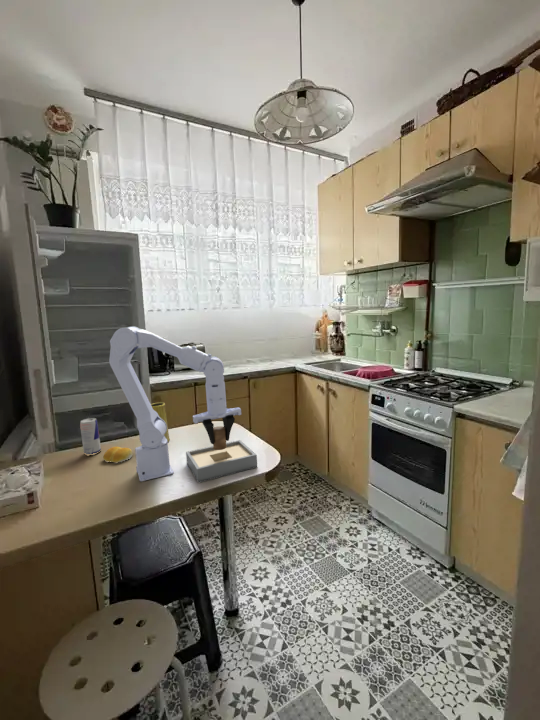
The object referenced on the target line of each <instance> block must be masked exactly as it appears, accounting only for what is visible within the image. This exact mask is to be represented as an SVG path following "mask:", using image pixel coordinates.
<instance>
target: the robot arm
mask: <svg viewBox="0 0 540 720" xmlns="http://www.w3.org/2000/svg"><path fill="white" fill-rule="evenodd" d="M109 345H110V351H109V362H108V363H109V366H110V368H111V369H112V372H113V374H114V376H115V377H116V379H117V382H118V384H119V385H120V387H121V390H122V392H123V393H124V396H125V398H126V400H127V402H128V404H129V406H130V407H131V410H132V412H133V414H134V416H135V418H136V427H137V428H136V429H137V430H138V433H139V438H138V439H139V442H140V444H141V445H140V446H137V447H135V448H134V451H135V462H136V467H135V468H136V469H135V470H136V473H137V475H138V478H139V479H138V480H139V481H140V482H145V481H148V480H152V479H153V480H154V479H156V478H161V477H166V476H169V475H173V474H174V470H173V468H172V466H171V464H170V455H169V444H168V442H169V441H168V442H167V439H166V438H165V436H164V434H165V433H166V431H167V426H168V424H167V425H166V423H165V421H164V420H162V419H161V418H160V417H159V415H158V413H157V412H156V411H154V410H153V408H152V406H151V404H152V403H151V402H150V400H149V398H148V396H147V394H146V392H145V390H144V387H143V385H142V383H141V382H140V379H139V378H138V376H137V375H138V374H136V371H135V369H134V367H133V365H132V362H131V360H132V358H133V356H134V354H135V352H136V350H138V349H143V348H153V349H155V350H158V351H159V352H163V353H164V354H165V353H166V354H168V355H169V356H172V357H175V358H177V359H178V361H179V364H181V365H182V366H185V367H188V368H189V369H191V370H194V371H196V372H199V373H203V374H204V376H205V386H204V387H205V395H206V407H207V411H205V412H201V413H199V414H194V415H192V422H193V423H194V424H198V423H200V422H201V424H202V425H203V427H204V429H205V430H206V434H207V435H208V438H209V443H210V444H211V445H213V444H214V434H213V428H214V427H215V425H214V423H213V420H216V419H222V422H223V427H225V432H226V442H228V441H230V436H231V430H232V427H233V425H234V424H235V420H236V418H235V417H234V416H241V415H242V409H241V407H233V408H232V407H230V408H228V407H227V398H226V397H227V396H226V395H227V393H226V382H225V376H224V373H225V368H224V367H225V366H224V362H223V361H222V360H221V358H219V357H218V356H216V355H215V356H212V355H213V354H211V353H205V352H203V351H201V350H199V349H197V348H198V347H197V346H196V345H192V346H190V345H187V346H184V347H182V346H180V345H178V344H176V343H174V342H171V341H169V340H168V339H166V338H164V337H162V336H160V335H158V334H156V333H154V332H151V331H149V330H146V329H143V328H139V327H137V326H134V325H130V326H127V327H121V328H120V327H119V329H116V331H114V333H113V335H112V336H111V339H110V340H109Z"/></svg>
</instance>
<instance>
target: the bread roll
mask: <svg viewBox="0 0 540 720" xmlns="http://www.w3.org/2000/svg"><path fill="white" fill-rule="evenodd" d="M132 457H133V451H132V449H131V448H129V447H120V446H111V447H110V448H108V449H107V450H106V451H105V452H104V453H103V455H102V458H103V461H104V460H105V462H106V461H109V462H110V461H111V462H121V463H123V462H122V461H124V462H126V461H125V460H127V461H129V460H130V459H131V458H132ZM128 459H129V460H128Z"/></svg>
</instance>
